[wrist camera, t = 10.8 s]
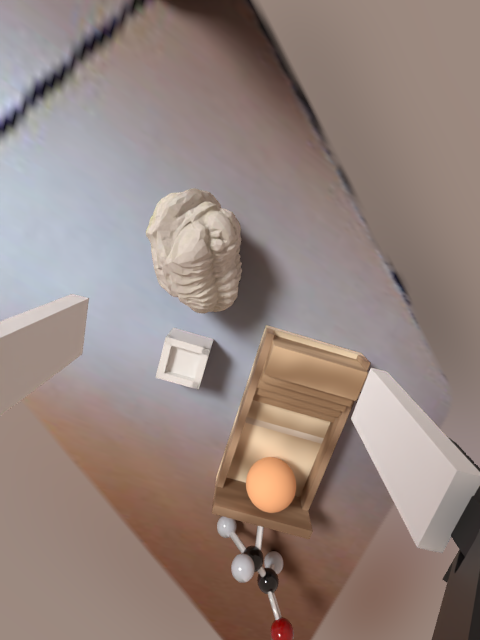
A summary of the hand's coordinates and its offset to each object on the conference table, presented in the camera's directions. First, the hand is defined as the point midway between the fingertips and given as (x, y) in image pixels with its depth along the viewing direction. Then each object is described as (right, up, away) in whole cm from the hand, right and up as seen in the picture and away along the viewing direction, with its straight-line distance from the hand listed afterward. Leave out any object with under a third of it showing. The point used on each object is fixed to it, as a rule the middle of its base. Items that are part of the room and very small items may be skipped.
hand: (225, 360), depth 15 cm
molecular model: (+4, -29, +32) cm, 43 cm away
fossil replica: (-3, +9, +23) cm, 25 cm away
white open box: (-6, -2, +25) cm, 26 cm away
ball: (+4, -18, +25) cm, 31 cm away
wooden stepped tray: (+6, -11, +27) cm, 30 cm away
